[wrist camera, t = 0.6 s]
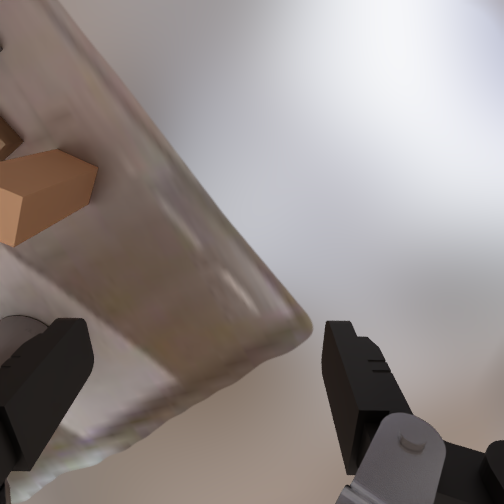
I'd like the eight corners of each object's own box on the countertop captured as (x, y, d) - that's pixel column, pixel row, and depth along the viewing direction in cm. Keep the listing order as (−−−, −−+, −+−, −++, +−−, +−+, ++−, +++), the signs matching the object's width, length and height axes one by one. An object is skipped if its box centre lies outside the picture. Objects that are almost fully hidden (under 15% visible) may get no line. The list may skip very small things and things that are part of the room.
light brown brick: (88, 204, 37) (13, 247, 26) (48, 187, 36) (-46, 223, 25) (98, 167, 35) (22, 197, 24) (56, 148, 34) (-40, 170, 23)
